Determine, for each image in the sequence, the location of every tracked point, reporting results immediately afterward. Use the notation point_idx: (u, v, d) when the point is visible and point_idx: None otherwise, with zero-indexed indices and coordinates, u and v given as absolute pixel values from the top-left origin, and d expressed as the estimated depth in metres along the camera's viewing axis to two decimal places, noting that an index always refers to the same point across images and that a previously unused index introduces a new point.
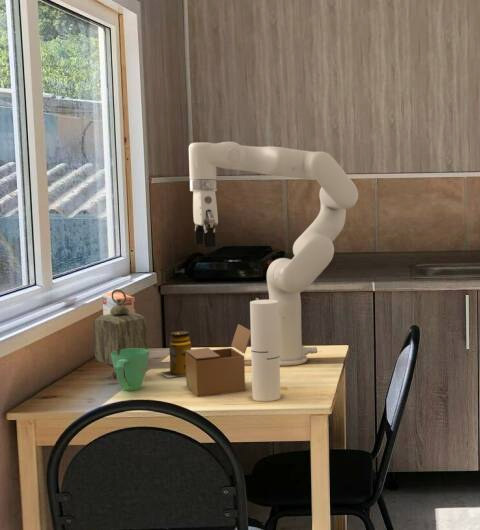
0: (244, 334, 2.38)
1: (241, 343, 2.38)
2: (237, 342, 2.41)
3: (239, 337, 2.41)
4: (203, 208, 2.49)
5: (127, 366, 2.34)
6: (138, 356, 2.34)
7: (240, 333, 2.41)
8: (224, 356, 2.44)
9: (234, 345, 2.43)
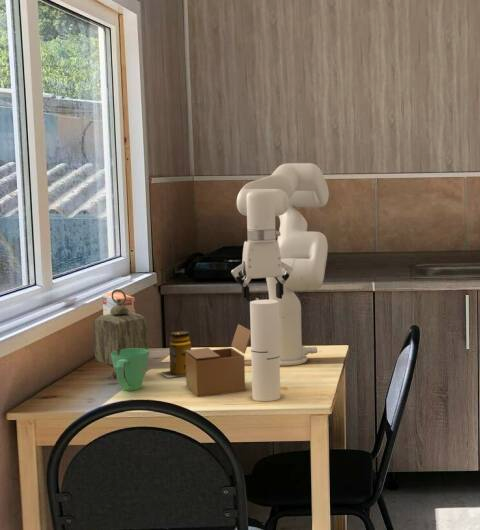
0: (244, 334, 2.38)
1: (241, 343, 2.38)
2: (237, 342, 2.41)
3: (239, 337, 2.41)
4: (280, 258, 2.41)
5: (127, 366, 2.34)
6: (138, 356, 2.34)
7: (240, 333, 2.41)
8: (224, 356, 2.44)
9: (234, 345, 2.43)
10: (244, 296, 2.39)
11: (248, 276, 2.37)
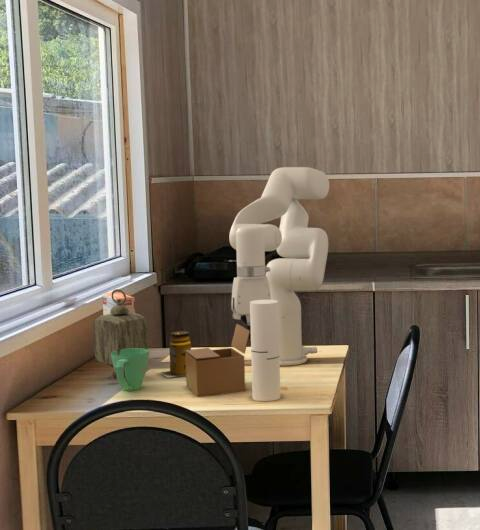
0: (243, 334, 2.38)
1: (240, 343, 2.38)
2: (237, 342, 2.41)
3: (238, 337, 2.41)
4: None
5: (127, 366, 2.34)
6: (138, 356, 2.34)
7: (239, 333, 2.41)
8: (224, 356, 2.44)
9: (234, 345, 2.43)
10: (249, 335, 2.40)
11: (238, 313, 2.37)
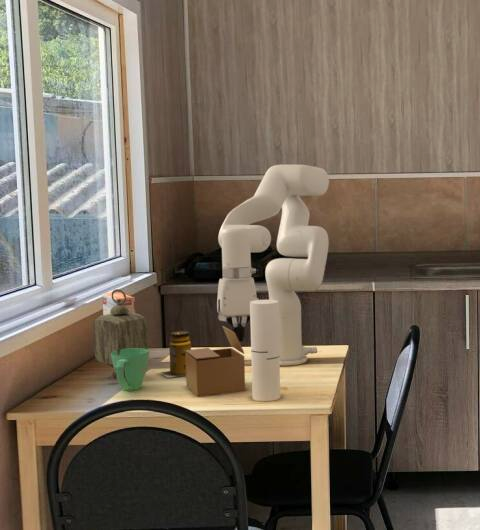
0: (232, 336, 2.37)
1: (236, 344, 2.38)
2: (232, 343, 2.41)
3: (231, 338, 2.40)
4: None
5: (127, 366, 2.34)
6: (138, 356, 2.34)
7: (229, 335, 2.40)
8: (224, 356, 2.44)
9: (232, 346, 2.42)
10: None
11: (223, 314, 2.35)
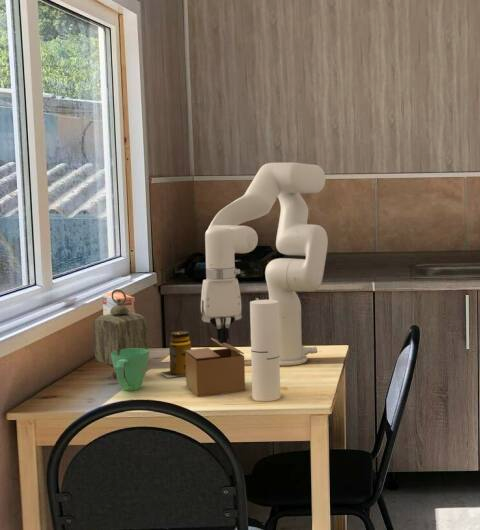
0: (224, 345, 2.36)
1: (232, 349, 2.37)
2: (230, 347, 2.40)
3: (225, 345, 2.39)
4: None
5: (127, 366, 2.34)
6: (138, 356, 2.34)
7: None
8: (224, 356, 2.44)
9: (232, 347, 2.42)
10: (218, 338, 2.36)
11: (207, 315, 2.33)
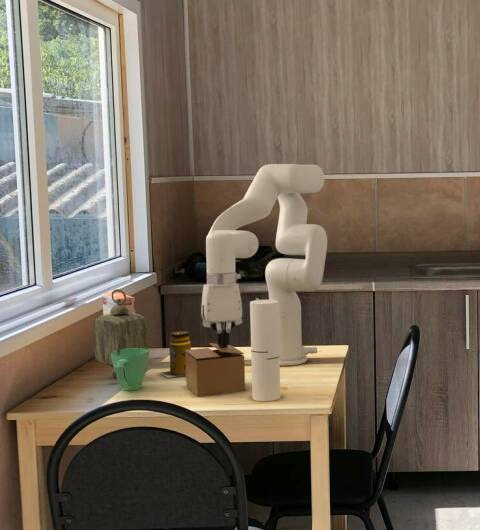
0: (222, 349, 2.36)
1: (232, 350, 2.37)
2: (229, 348, 2.40)
3: (224, 348, 2.39)
4: None
5: (127, 366, 2.34)
6: (138, 356, 2.34)
7: None
8: (224, 356, 2.44)
9: (232, 348, 2.42)
10: (219, 343, 2.36)
11: (207, 320, 2.33)
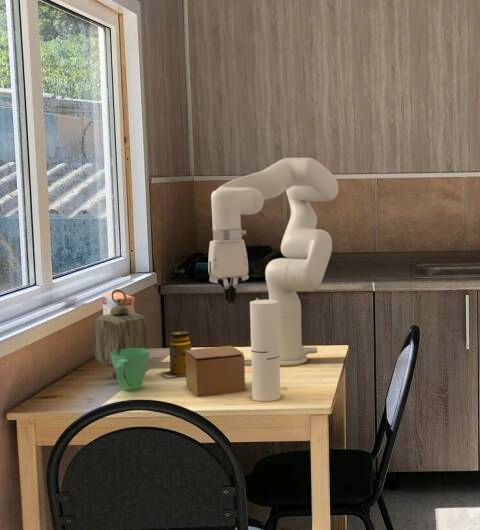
0: None
1: None
2: None
3: None
4: None
5: (127, 366, 2.34)
6: (138, 356, 2.34)
7: None
8: None
9: None
10: (226, 298, 2.40)
11: (214, 276, 2.37)
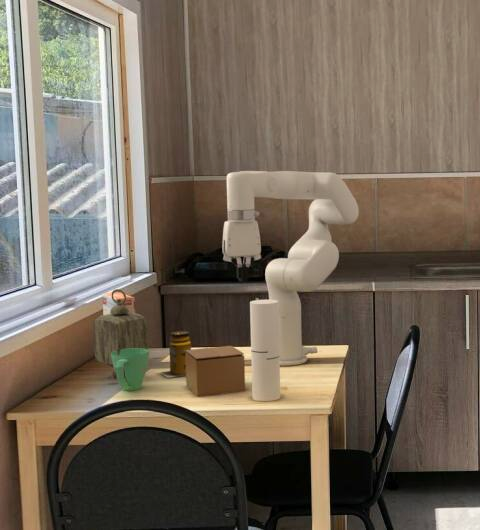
0: None
1: None
2: None
3: None
4: (259, 237, 2.51)
5: (127, 366, 2.34)
6: (138, 356, 2.34)
7: None
8: None
9: None
10: (239, 277, 2.50)
11: (228, 254, 2.47)
